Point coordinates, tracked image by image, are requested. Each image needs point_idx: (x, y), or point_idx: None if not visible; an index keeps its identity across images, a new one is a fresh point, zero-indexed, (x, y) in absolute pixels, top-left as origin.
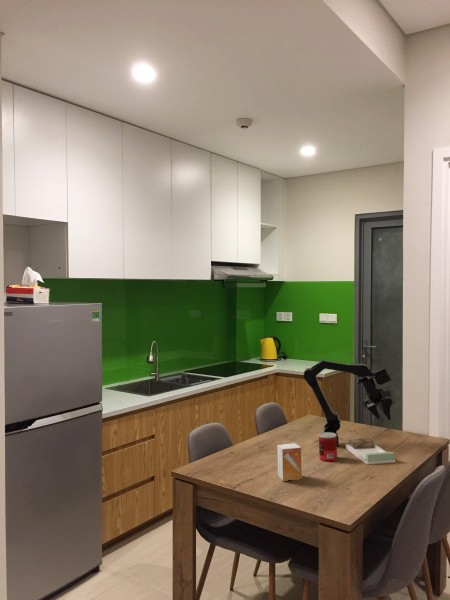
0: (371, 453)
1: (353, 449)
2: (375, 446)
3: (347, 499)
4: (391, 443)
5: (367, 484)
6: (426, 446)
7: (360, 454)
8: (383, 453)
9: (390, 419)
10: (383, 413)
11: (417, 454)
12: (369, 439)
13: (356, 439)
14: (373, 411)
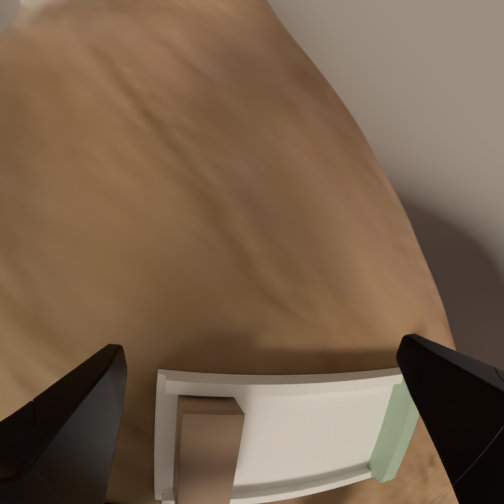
0: (391, 465)
1: (259, 502)
2: (251, 395)
3: (451, 497)
4: (151, 208)
5: (444, 471)
6: (284, 79)
7: (329, 487)
8: (413, 424)
9: (410, 337)
10: (451, 459)
11: (372, 213)
12: (207, 427)
13: (180, 488)
14: (90, 496)
